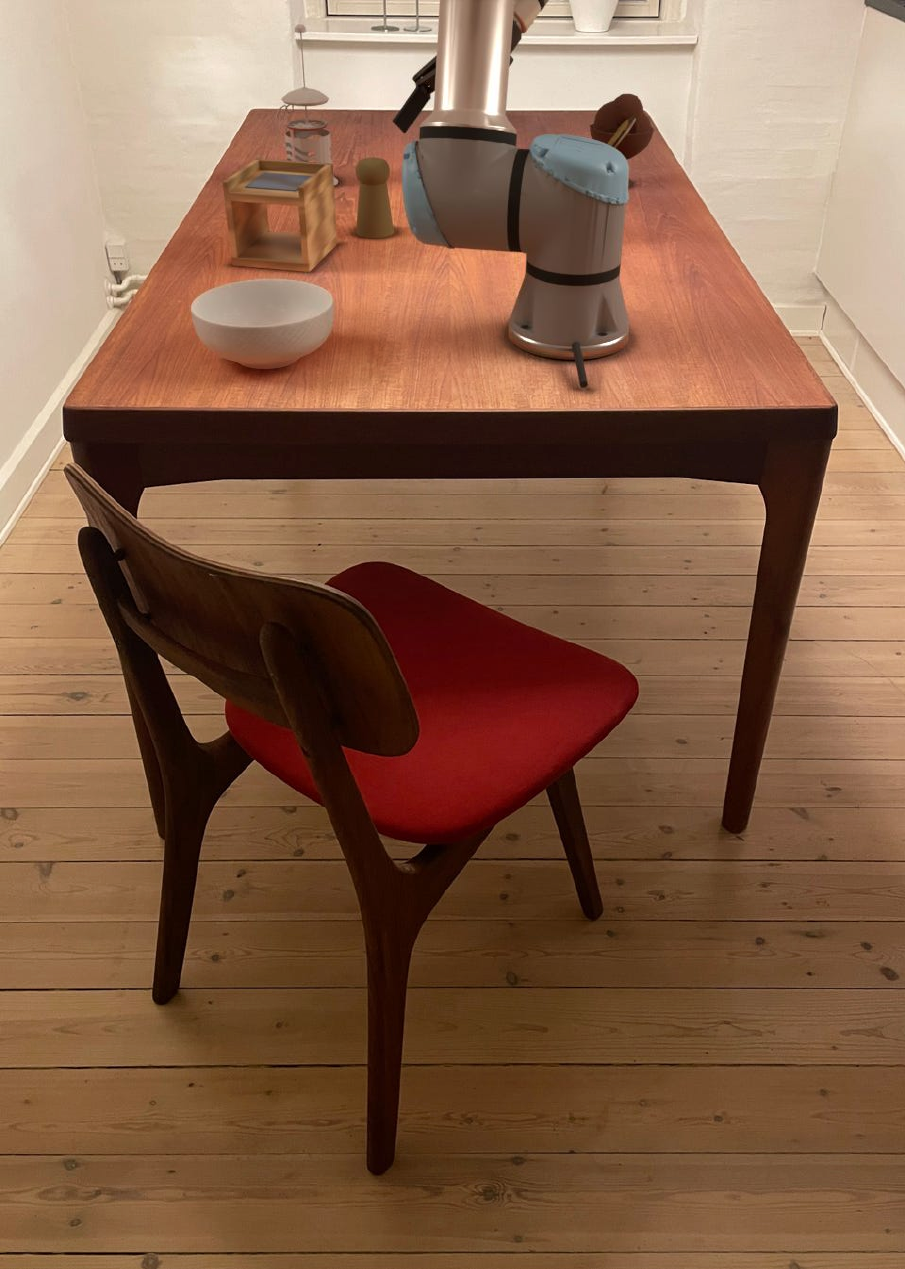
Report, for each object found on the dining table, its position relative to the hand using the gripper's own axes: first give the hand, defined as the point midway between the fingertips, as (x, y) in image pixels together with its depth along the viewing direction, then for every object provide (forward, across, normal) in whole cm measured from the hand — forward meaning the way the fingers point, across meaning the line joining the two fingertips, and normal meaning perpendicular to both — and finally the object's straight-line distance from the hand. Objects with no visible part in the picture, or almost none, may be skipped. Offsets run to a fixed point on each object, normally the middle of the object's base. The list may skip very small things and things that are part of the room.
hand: (420, 136), depth 172 cm
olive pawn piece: (+16, 0, -3) cm, 16 cm away
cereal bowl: (+40, -36, +21) cm, 58 cm away
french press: (+13, +32, -6) cm, 35 cm away
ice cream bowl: (-20, +2, -39) cm, 44 cm away
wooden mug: (-3, -19, -22) cm, 29 cm away
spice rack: (+27, -3, +8) cm, 29 cm away
